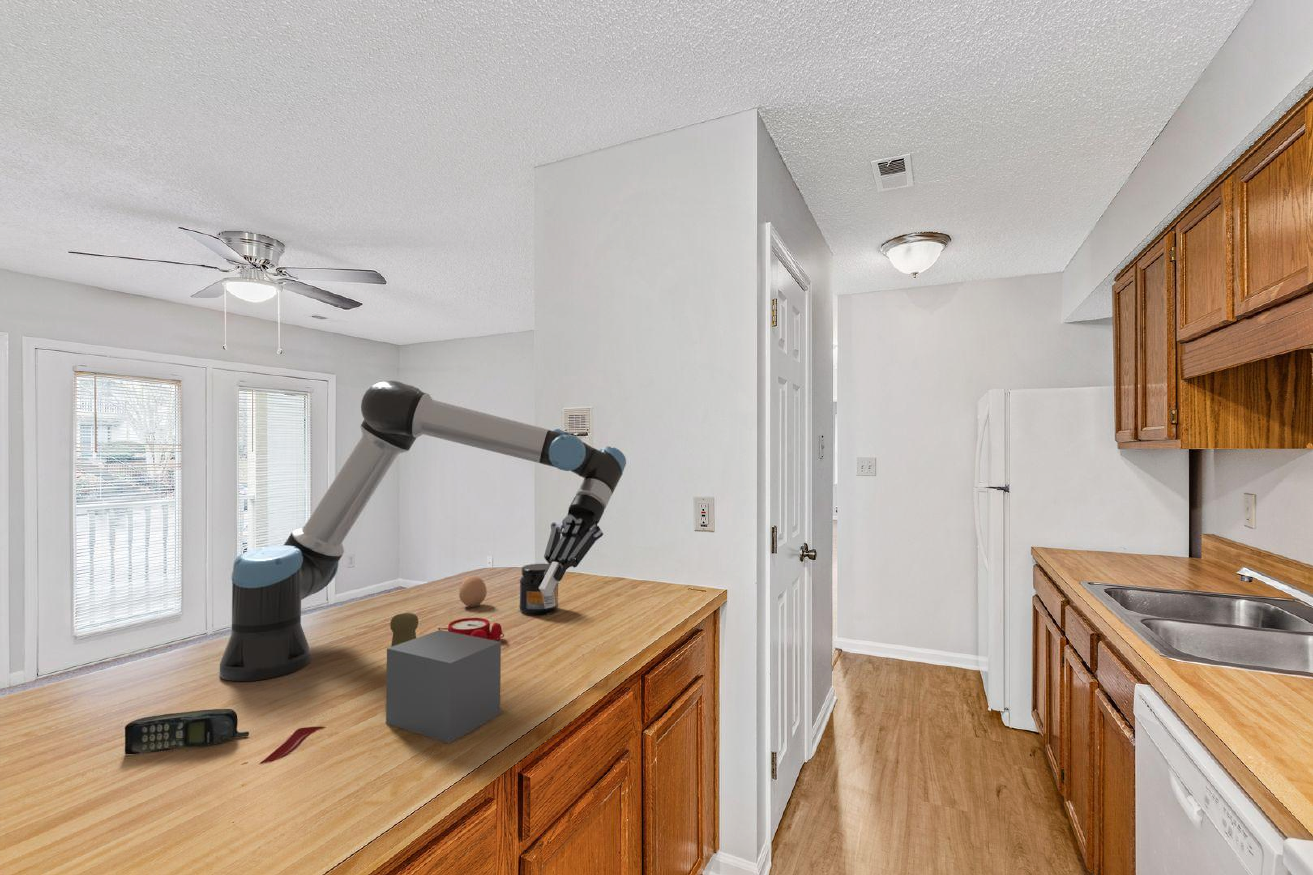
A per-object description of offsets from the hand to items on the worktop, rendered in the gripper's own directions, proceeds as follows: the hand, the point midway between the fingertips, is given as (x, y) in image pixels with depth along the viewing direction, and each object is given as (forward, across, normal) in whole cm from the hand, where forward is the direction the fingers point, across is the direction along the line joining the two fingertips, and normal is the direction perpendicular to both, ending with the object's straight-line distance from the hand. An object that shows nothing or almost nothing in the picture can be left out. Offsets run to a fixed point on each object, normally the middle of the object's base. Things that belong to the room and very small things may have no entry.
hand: (544, 592), depth 119 cm
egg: (-9, +46, -30) cm, 56 cm away
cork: (+21, +24, -1) cm, 32 cm away
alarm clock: (+7, +24, -15) cm, 29 cm away
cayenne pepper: (+41, +14, +19) cm, 47 cm away
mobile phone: (+46, +28, +24) cm, 59 cm away
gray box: (+29, 0, +7) cm, 30 cm away
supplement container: (-12, +27, -34) cm, 45 cm away
